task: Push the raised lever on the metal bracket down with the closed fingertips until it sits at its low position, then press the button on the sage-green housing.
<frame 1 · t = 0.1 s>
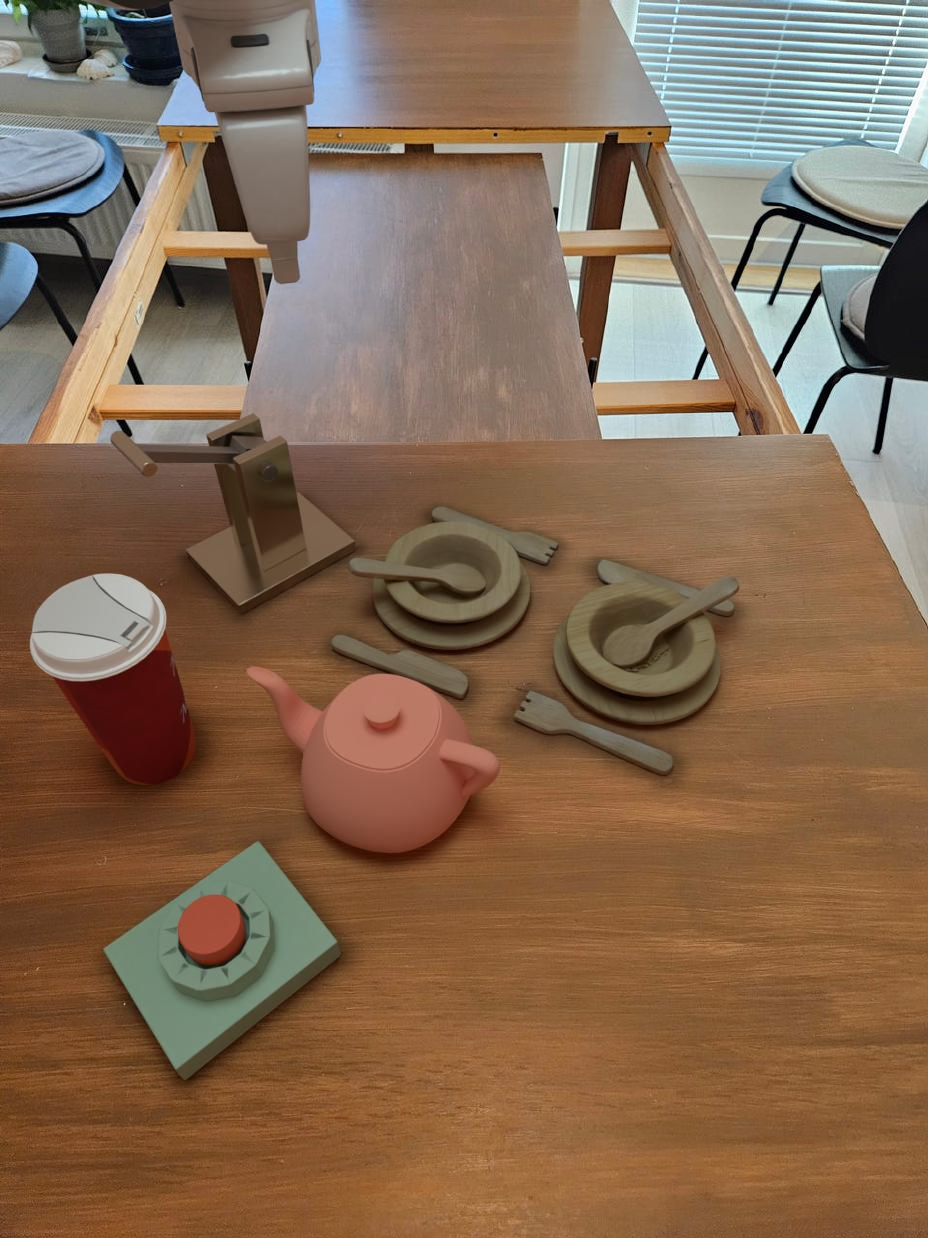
hand: (282, 248, 66), 25 cm above the table, tool pointing down, fingers open, 8 cm apart
lever: (199, 454, 68), point 13 cm above the table, hinge at 28.0°
bracket: (272, 554, 80), on the table
button: (212, 929, 52), point 4 cm above the table, slide at 0.1 cm
coffee cup: (155, 752, 66), on the table
teapot: (380, 782, 64), on the table
button box: (227, 959, 55), on the table
tableware set: (540, 628, 74), on the table
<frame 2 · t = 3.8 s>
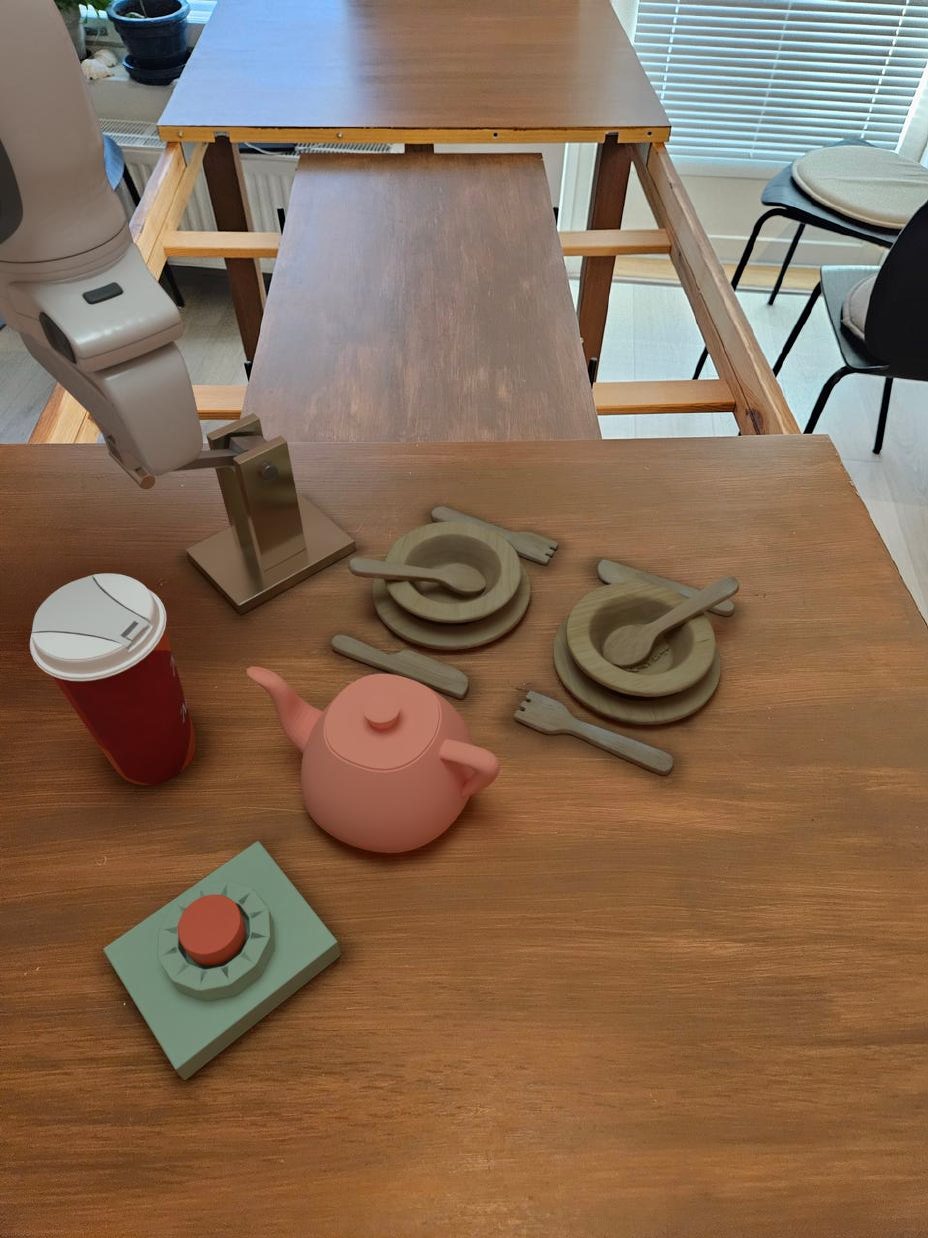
hand: (130, 458, 64), 15 cm above the table, tool pointing down, fingers closed, pressing on lever
lever: (198, 460, 68), point 13 cm above the table, hinge at 22.2°, touching gripper
everything else where it was.
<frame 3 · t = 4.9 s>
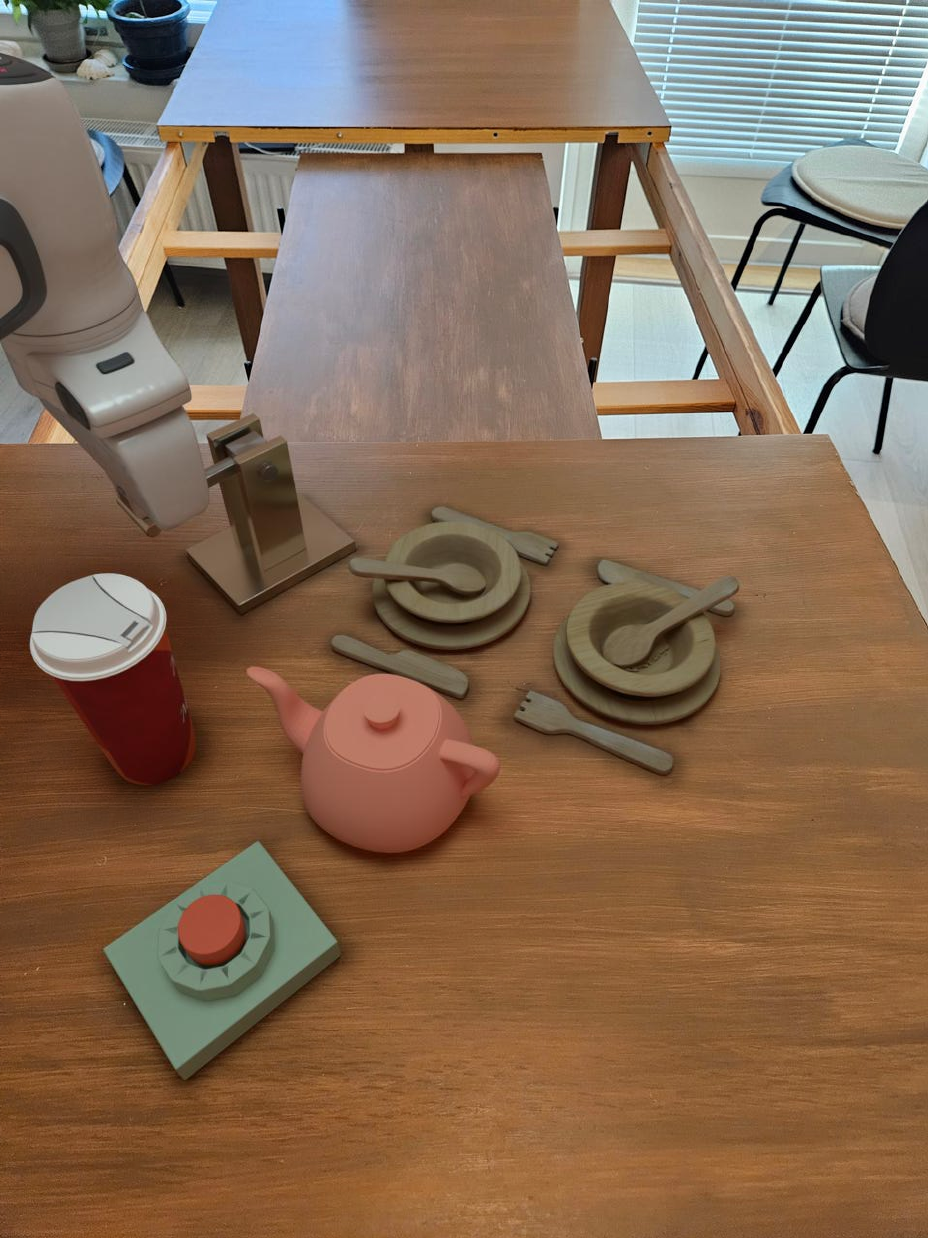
hand: (139, 506, 67), 11 cm above the table, tool pointing down, fingers closed, pressing on lever
lever: (200, 481, 70), point 11 cm above the table, hinge at -2.5°, touching gripper
everything else where it was.
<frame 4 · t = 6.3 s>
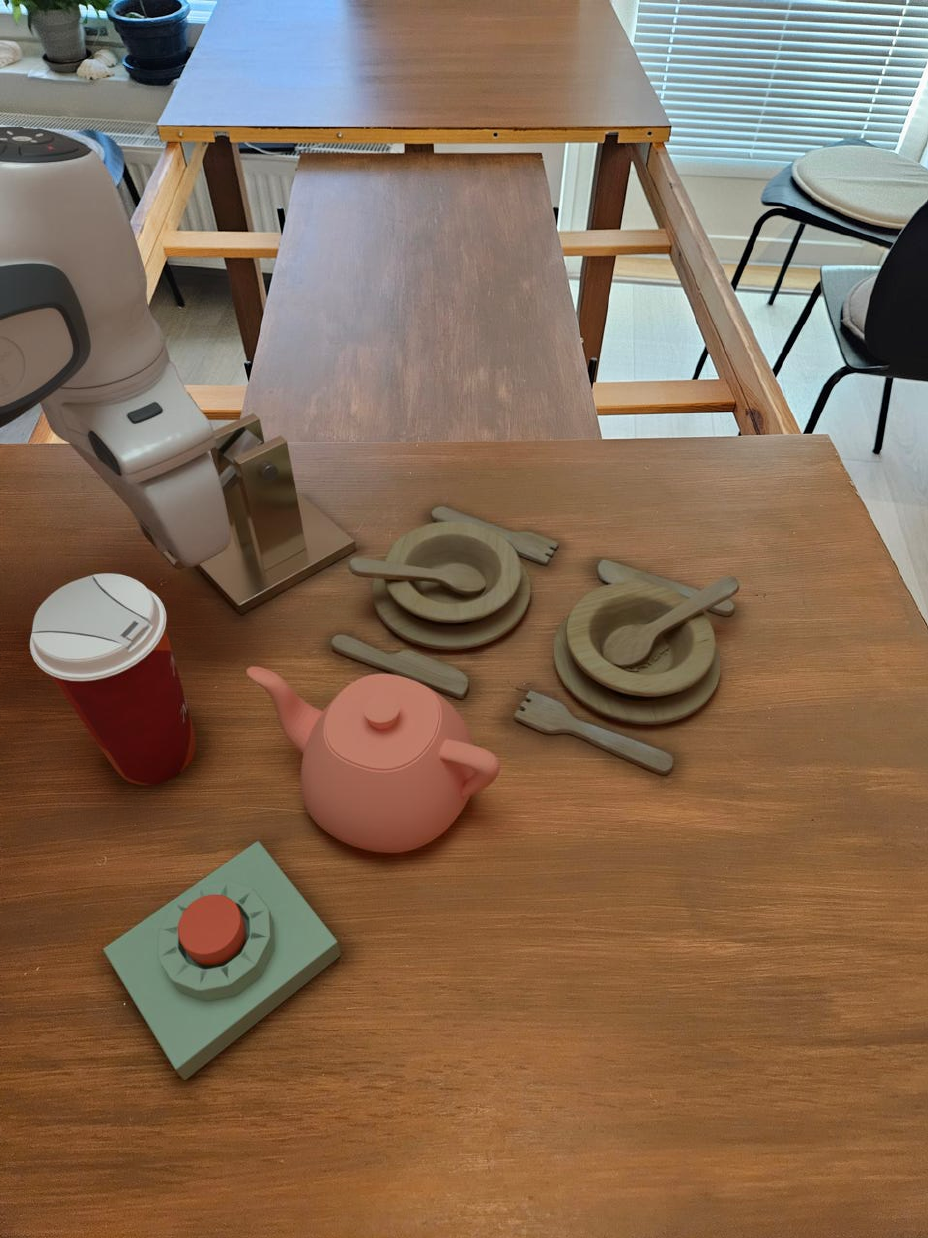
hand: (161, 539, 70), 7 cm above the table, tool pointing down, fingers closed, pressing on lever
lever: (211, 497, 71), point 9 cm above the table, hinge at -27.6°, touching gripper
everything else where it was.
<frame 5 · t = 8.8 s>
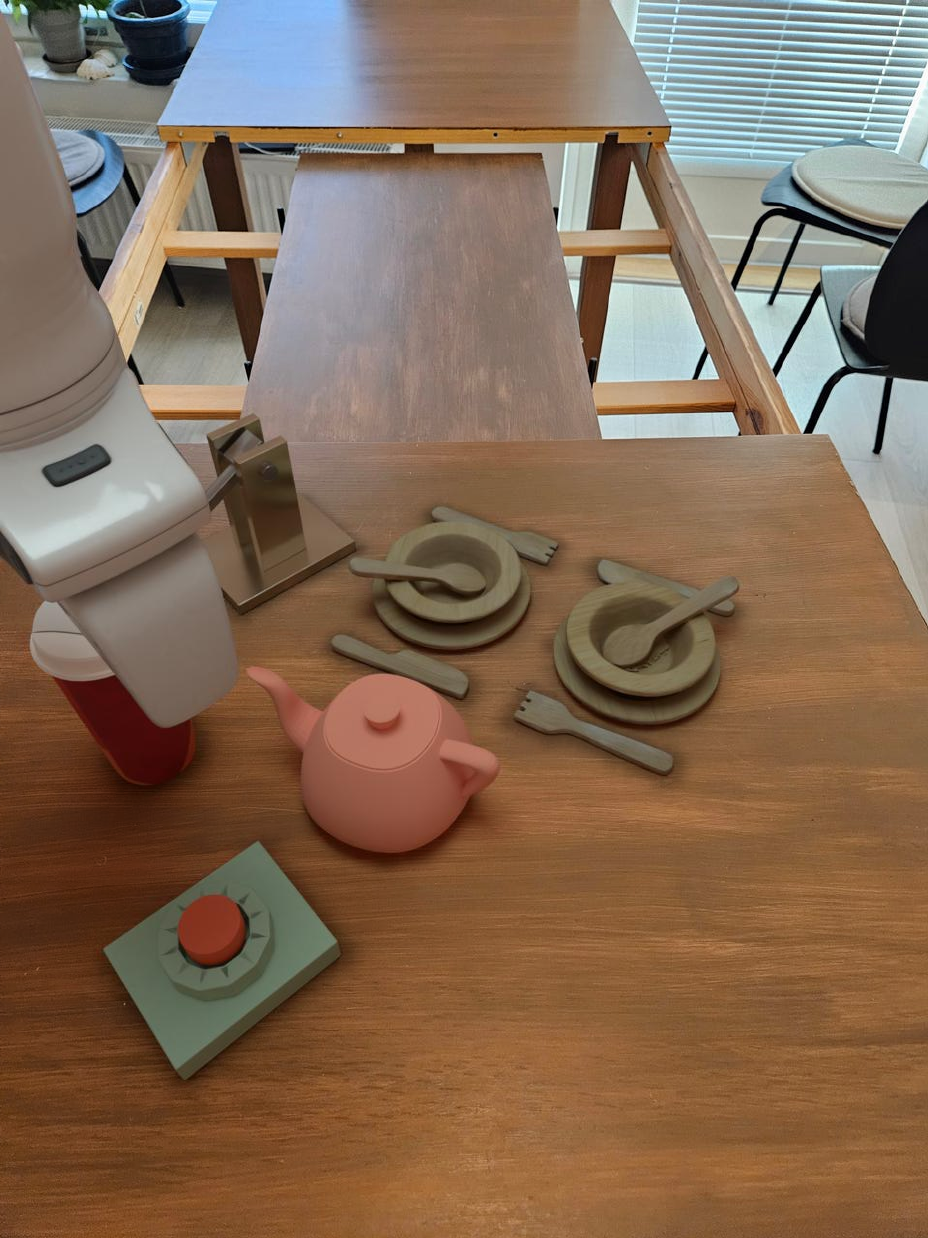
hand: (123, 652, 44), 22 cm above the table, tool pointing down, fingers closed
lever: (211, 497, 71), point 9 cm above the table, hinge at -27.6°
everything else where it was.
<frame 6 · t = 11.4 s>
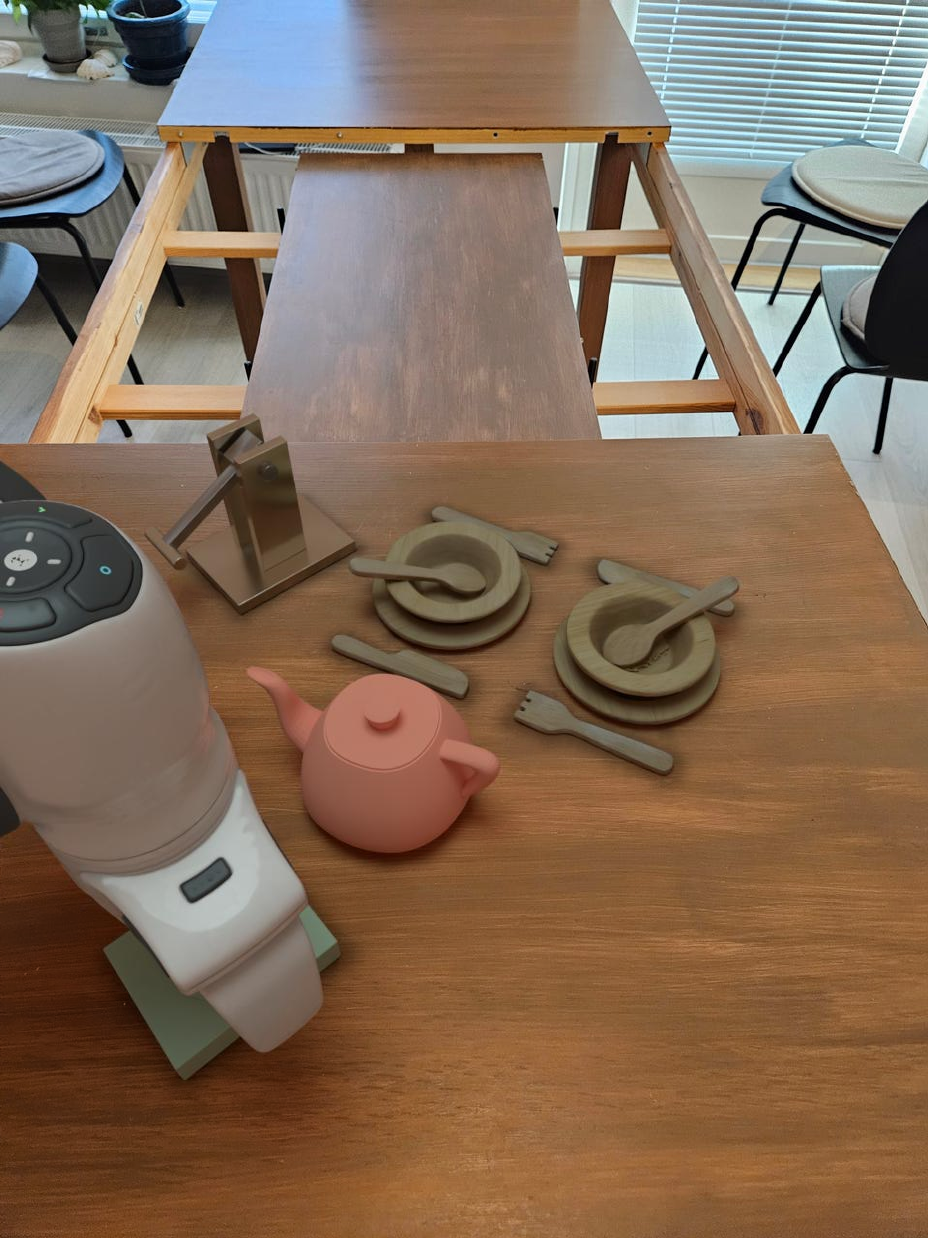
hand: (213, 926, 52), 5 cm above the table, tool pointing down, fingers closed, pressing on button
button: (213, 932, 52), point 4 cm above the table, slide at -0.3 cm, touching gripper
everything else where it was.
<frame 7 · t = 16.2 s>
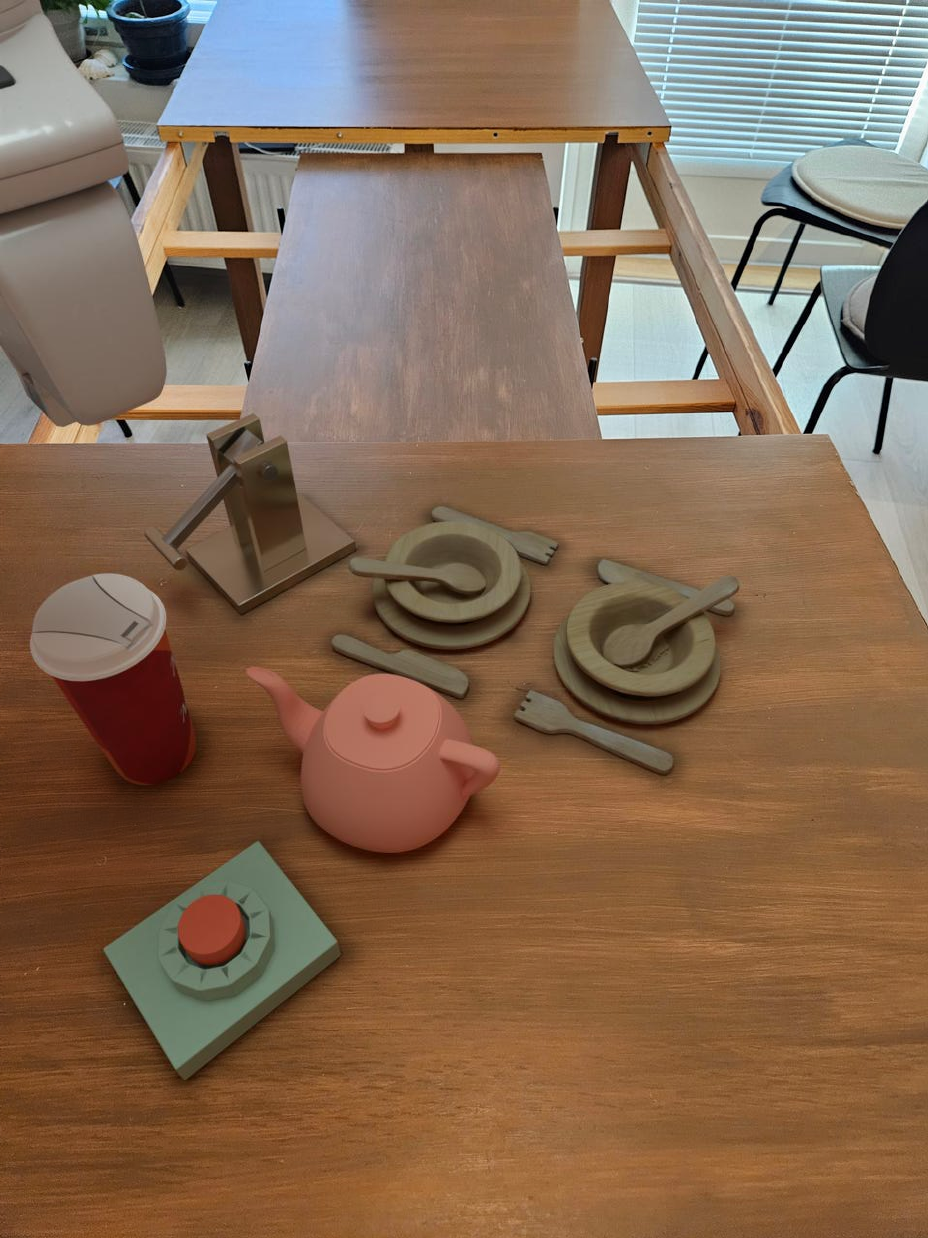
hand: (61, 409, 42), 31 cm above the table, tool pointing down, fingers closed
button: (212, 929, 52), point 4 cm above the table, slide at 0.1 cm
everything else where it was.
at the end: lever at -28° (first picture: +28°); button pushed in 1.1 cm at the most during the clip, back to where it started at the end; button slide at 0.1 cm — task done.
